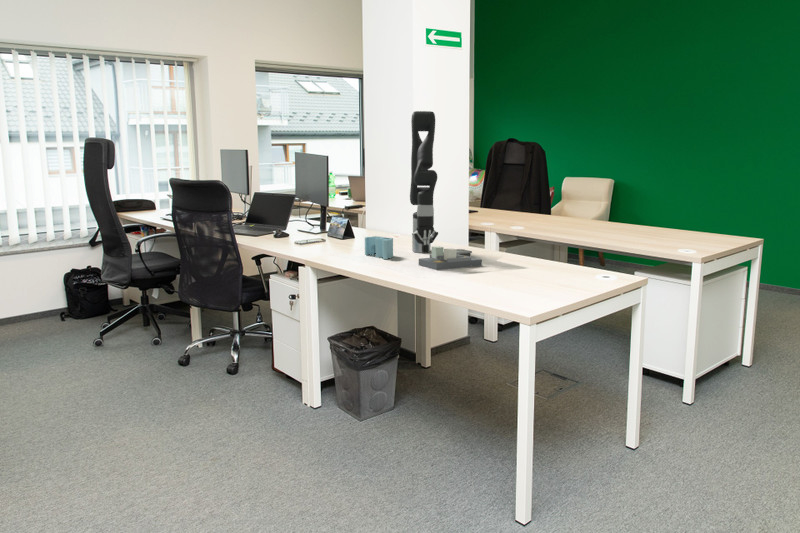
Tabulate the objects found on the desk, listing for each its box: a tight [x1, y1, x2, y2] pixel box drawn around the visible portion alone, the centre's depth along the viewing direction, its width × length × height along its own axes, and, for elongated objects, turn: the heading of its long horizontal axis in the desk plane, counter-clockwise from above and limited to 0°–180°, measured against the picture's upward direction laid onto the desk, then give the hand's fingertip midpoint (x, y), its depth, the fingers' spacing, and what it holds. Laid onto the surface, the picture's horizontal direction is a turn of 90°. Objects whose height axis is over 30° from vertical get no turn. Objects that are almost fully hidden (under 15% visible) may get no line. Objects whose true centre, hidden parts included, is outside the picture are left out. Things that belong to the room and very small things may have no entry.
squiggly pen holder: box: [364, 236, 394, 260], centre depth 317 cm, size 18×10×9 cm, turn 47°
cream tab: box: [444, 247, 457, 261], centre depth 282 cm, size 4×4×5 cm
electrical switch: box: [456, 248, 473, 257], centre depth 310 cm, size 9×5×9 cm
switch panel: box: [418, 253, 483, 271], centre depth 288 cm, size 16×24×4 cm, turn 118°
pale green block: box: [431, 245, 445, 259], centre depth 290 cm, size 4×4×5 cm
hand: (425, 252), depth 287 cm, fingers closed
